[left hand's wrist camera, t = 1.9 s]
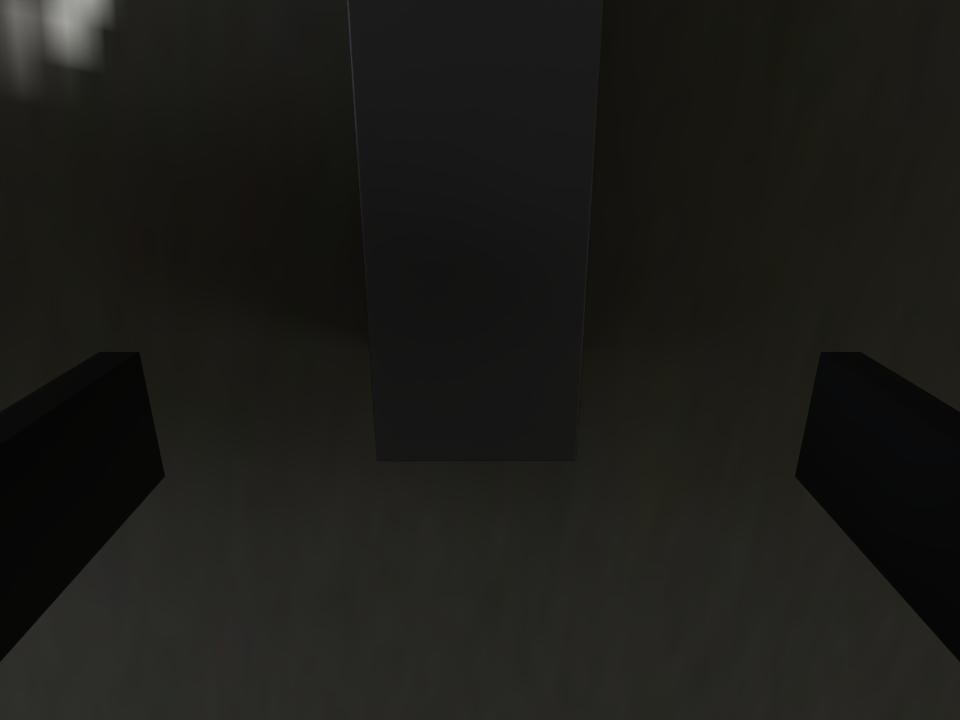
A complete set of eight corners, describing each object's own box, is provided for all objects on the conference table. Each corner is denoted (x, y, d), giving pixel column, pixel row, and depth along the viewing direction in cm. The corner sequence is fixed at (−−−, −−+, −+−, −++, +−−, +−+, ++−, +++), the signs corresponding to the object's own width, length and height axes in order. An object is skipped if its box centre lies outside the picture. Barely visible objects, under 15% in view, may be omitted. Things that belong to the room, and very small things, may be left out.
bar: (544, 354, 26) (576, 461, 18) (409, 354, 26) (376, 462, 18) (574, -423, 18) (660, -909, 10) (376, -424, 18) (286, -911, 10)
